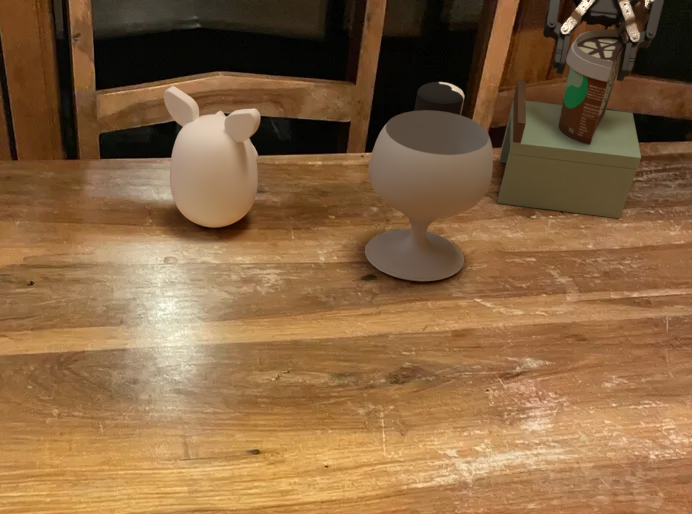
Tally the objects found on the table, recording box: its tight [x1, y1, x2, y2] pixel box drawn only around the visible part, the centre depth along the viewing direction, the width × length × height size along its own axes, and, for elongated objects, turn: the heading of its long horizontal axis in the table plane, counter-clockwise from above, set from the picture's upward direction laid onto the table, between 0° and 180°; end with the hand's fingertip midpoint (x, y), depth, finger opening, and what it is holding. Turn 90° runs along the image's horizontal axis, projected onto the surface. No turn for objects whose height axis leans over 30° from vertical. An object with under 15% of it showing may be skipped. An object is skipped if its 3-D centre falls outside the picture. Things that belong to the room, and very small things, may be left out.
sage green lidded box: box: [497, 79, 642, 219], centre depth 124 cm, size 16×14×10 cm
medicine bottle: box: [413, 81, 465, 116], centre depth 124 cm, size 7×7×12 cm
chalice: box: [364, 110, 494, 282], centre depth 109 cm, size 14×14×15 cm
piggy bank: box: [163, 85, 261, 228], centre depth 114 cm, size 12×12×15 cm
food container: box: [559, 28, 624, 144], centre depth 119 cm, size 12×6×10 cm, turn 155°
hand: (591, 74), depth 117 cm, fingers closed on food container, 7 cm apart
